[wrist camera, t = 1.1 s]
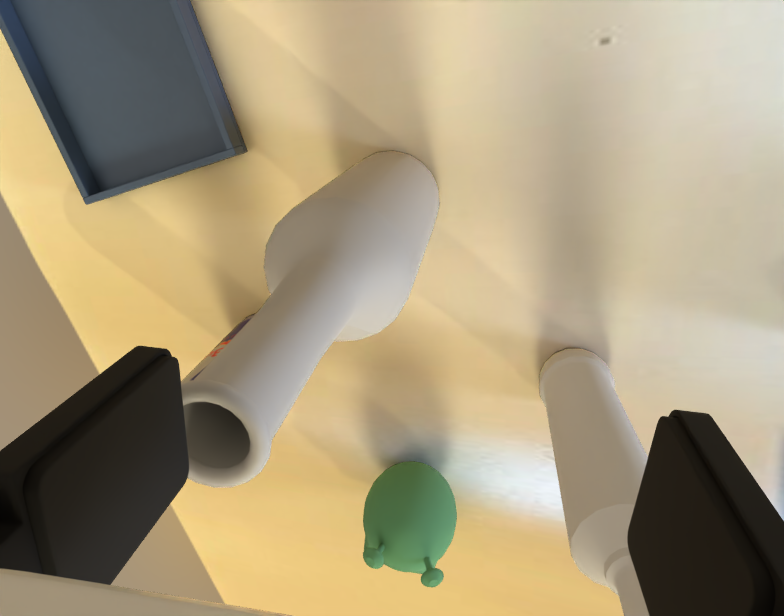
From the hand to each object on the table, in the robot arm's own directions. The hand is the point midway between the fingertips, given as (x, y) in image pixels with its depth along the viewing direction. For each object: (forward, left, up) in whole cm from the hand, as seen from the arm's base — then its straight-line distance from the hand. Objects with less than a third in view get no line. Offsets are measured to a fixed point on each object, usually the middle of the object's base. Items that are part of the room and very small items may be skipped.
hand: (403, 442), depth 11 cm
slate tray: (0, -24, -29) cm, 37 cm away
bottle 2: (+9, +13, -29) cm, 33 cm away
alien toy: (+23, +6, -29) cm, 38 cm away
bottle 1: (+2, -4, -29) cm, 29 cm away
